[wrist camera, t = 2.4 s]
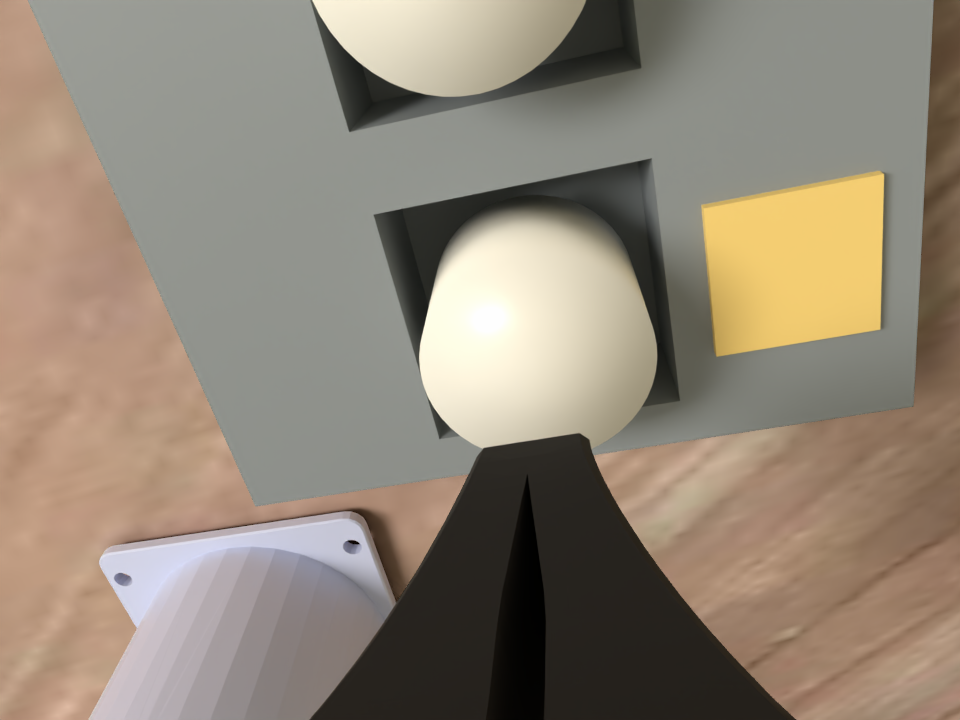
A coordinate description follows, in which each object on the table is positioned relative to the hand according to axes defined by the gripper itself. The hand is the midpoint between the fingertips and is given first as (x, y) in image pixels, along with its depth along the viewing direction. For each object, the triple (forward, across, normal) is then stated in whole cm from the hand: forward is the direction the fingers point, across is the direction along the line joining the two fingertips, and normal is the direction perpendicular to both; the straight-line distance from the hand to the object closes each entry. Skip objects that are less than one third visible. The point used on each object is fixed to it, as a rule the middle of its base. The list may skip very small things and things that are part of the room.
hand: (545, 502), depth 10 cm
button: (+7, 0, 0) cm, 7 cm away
